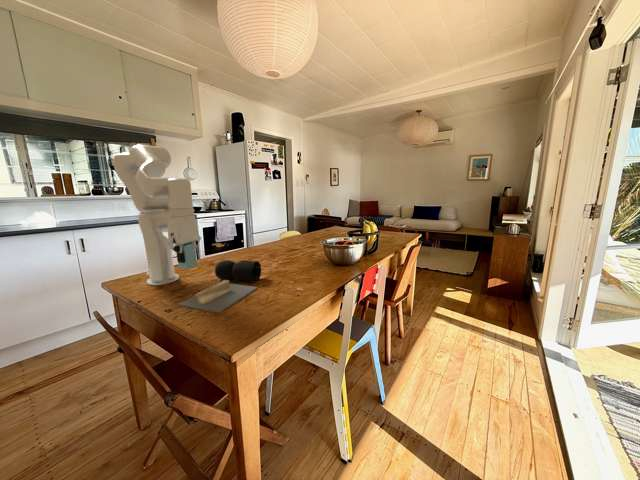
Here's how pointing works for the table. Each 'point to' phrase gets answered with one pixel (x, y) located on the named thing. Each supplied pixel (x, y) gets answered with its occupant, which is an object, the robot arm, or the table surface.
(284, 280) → the table surface
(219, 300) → the panel
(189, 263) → the block
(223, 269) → the figurine
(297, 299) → the table surface
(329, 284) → the table surface
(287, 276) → the table surface
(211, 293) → the plank
